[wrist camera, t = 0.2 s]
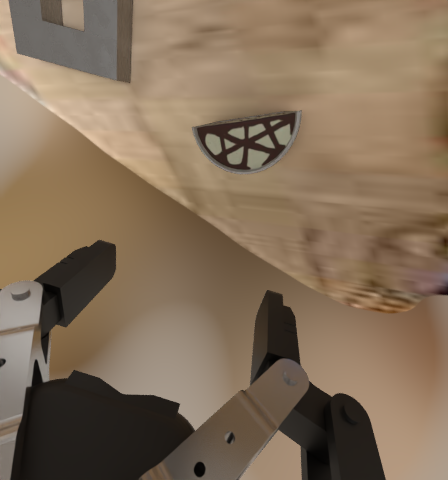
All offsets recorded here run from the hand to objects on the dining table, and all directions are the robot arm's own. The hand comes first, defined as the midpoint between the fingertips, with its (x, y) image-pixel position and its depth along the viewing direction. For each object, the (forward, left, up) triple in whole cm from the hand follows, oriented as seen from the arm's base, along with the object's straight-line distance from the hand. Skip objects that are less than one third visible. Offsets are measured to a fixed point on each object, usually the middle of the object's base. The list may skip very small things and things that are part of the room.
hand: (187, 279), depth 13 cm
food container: (-4, 0, -29) cm, 30 cm away
